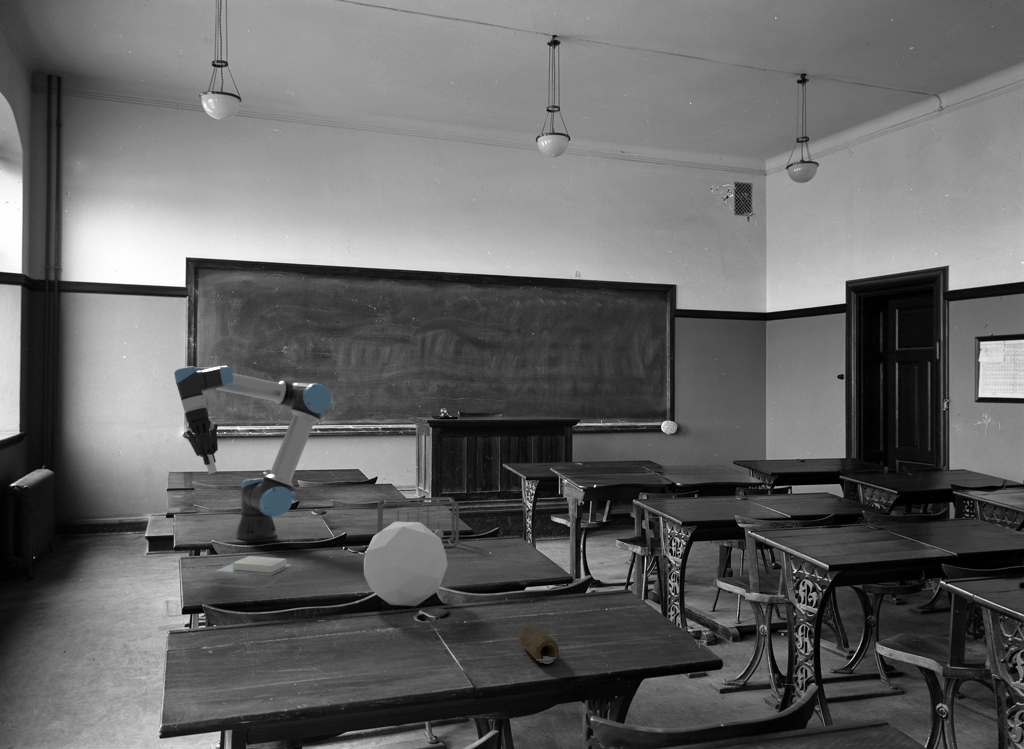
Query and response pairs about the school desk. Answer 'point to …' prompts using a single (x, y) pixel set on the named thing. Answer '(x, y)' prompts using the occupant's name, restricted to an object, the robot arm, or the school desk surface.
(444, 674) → the school desk surface
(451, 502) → the newton's cradle
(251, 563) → the tile
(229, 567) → the mat
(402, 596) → the geometric polyhedron
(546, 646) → the brown hollow tube
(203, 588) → the school desk surface
